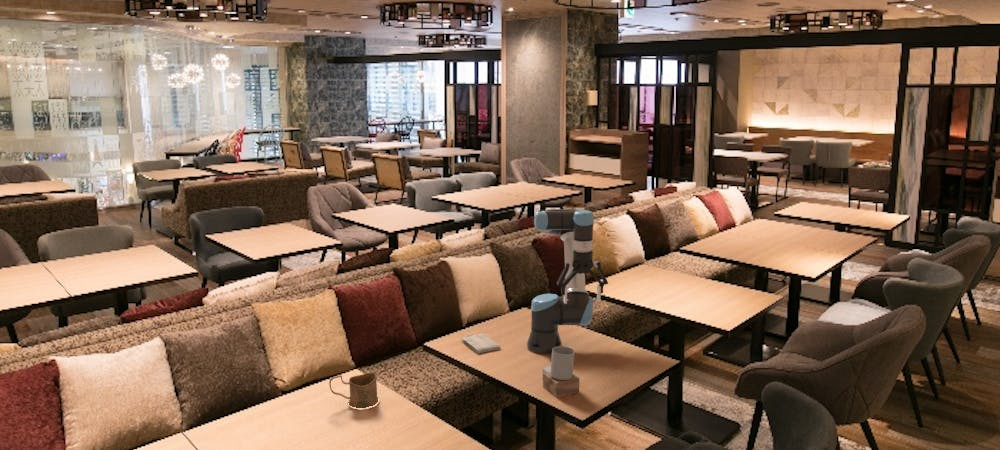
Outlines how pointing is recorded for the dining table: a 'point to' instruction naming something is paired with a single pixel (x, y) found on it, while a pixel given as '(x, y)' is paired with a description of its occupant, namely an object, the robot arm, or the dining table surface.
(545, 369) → the grey block
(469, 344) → the washcloth
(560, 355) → the cup
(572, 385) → the walnut block
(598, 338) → the dining table surface
